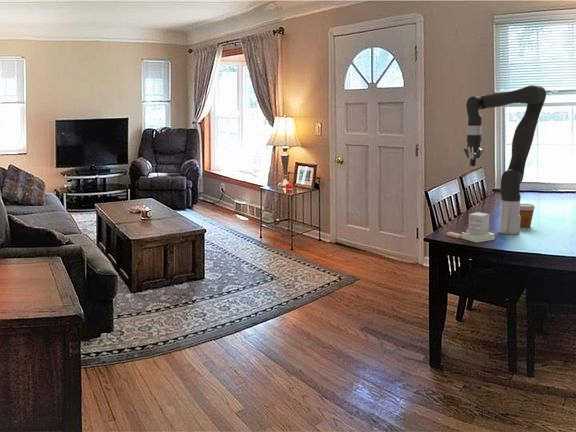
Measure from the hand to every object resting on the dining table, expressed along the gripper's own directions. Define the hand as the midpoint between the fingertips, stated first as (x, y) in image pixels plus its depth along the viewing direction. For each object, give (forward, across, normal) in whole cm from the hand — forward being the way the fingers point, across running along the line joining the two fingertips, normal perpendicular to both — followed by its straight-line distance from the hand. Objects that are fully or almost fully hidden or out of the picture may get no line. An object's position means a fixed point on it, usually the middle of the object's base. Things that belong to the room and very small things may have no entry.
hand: (472, 166), depth 301 cm
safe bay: (+33, -27, +20) cm, 47 cm away
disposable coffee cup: (+33, -17, -23) cm, 44 cm away
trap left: (+33, -18, +26) cm, 46 cm away
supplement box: (+33, -27, +19) cm, 47 cm away
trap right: (+33, -18, +14) cm, 40 cm away
